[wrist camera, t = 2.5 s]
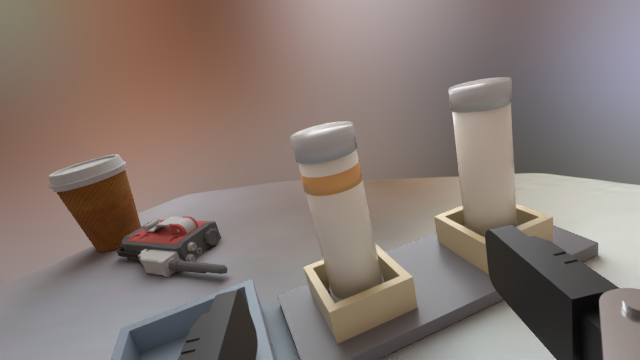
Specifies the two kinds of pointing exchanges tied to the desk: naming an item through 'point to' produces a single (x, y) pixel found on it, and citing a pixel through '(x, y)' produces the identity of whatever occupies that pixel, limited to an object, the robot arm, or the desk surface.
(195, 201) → the desk surface
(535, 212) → the fuse block
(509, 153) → the cylinder
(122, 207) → the disposable coffee cup
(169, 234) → the walkie-talkie
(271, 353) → the tray
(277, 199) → the desk surface
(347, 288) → the cylinder
